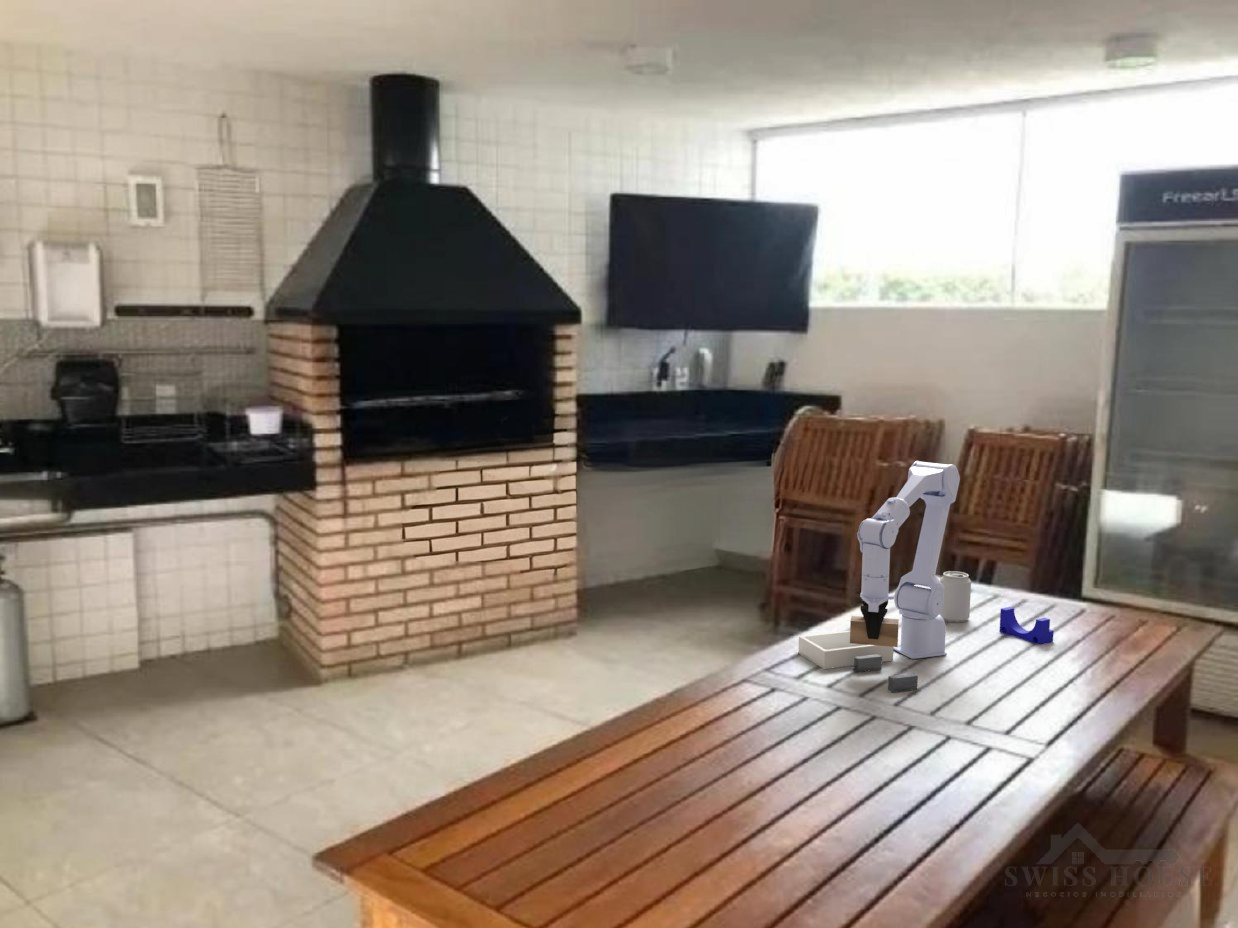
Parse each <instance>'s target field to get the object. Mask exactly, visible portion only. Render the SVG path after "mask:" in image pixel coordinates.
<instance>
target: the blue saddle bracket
mask: <svg viewBox="0 0 1238 928" xmlns="http://www.w3.org/2000/svg"><path fill="white" fill-rule="evenodd" d="M999 614H1000V615H999V632H1000V633H1002V634H1006V635H1008V636H1012V637H1015V638H1018V639H1022V640H1024V641H1026V642H1030V643H1033V644H1036V645H1039V646H1041V645H1047V644H1051V643H1054V634H1055V633H1054V630H1053V629H1050V626H1051V619H1050V618H1047V617H1041V618H1037V619H1035V624H1034V626H1033V628H1032V629H1031V630H1027V629H1025V628H1023V627H1022V626H1021V624H1020V623H1019V622H1018V620H1017V617H1016V615H1015V608H1014V607H1011V606H1006V607H1002V608H1000V613H999Z"/></svg>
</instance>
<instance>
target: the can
mask: <svg viewBox="0 0 1238 928" xmlns="http://www.w3.org/2000/svg"><path fill="white" fill-rule="evenodd" d="M969 576H970V575H969V574H968V573H966V572H964V571H963V572H962V571H954V570H953V571H950V570H948V571H944V572H943V573H942V576H941V578H939V581H940V582H941V583H942V584H943V586H944V605H943V609H942V611H941V613H940V614H939V615H941V616H942V618H943V619H944V622H945V621H946V622H950V623H964V622H967V620H968V619H969V618H970V615H971V613H970V611H971V591H972V590H971V589H972V580H971V579H970V577H969Z"/></svg>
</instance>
